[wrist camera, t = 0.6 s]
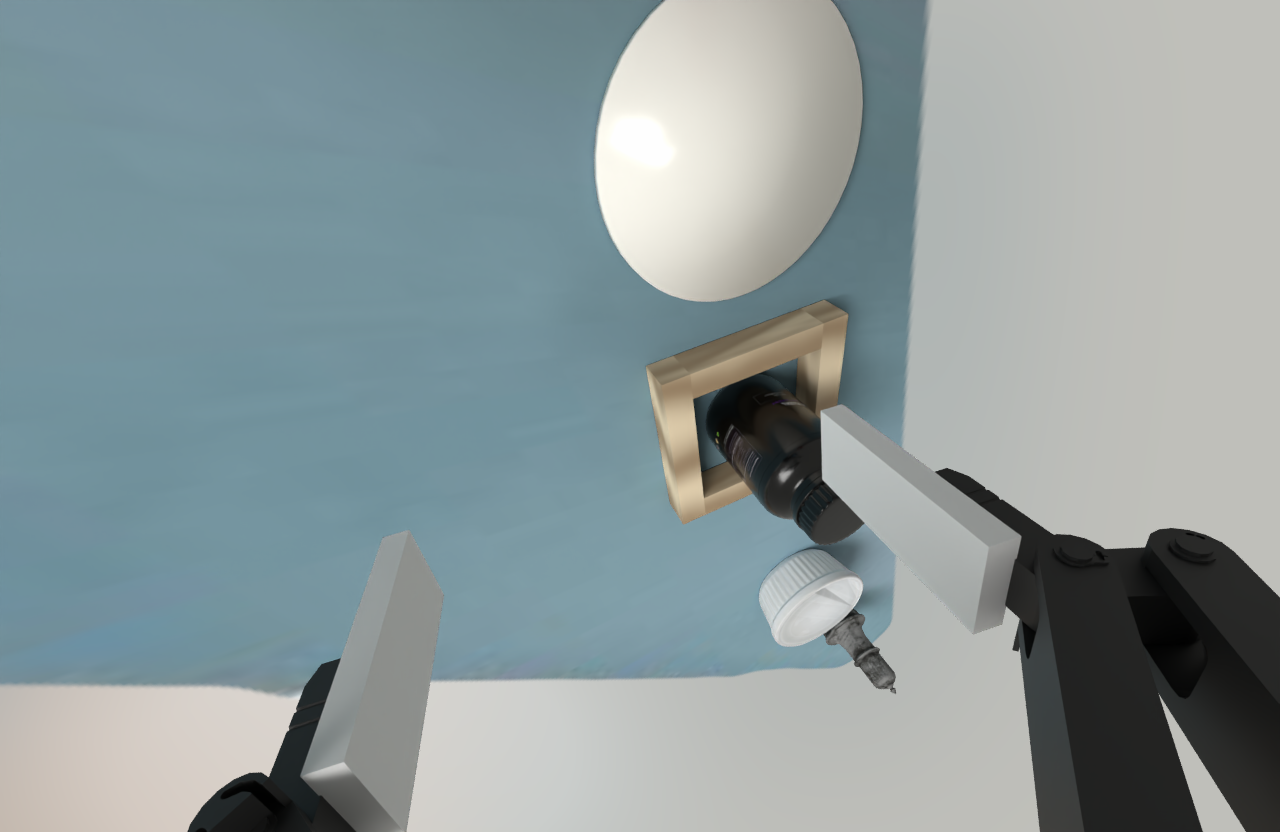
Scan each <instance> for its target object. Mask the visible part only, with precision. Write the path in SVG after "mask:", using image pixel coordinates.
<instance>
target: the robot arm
mask: <svg viewBox="0 0 1280 832" xmlns="http://www.w3.org/2000/svg"><path fill="white" fill-rule="evenodd" d="M821 448H822V480H823V481H824V482H825V483H826V484H827V485H828V486H829V487H830V488H831V489H832V490H833V491H834V492H835V493H836V494H837V495H838V496H839V497H840V498H841V499H842V500H843V501H844V502H845V503H846V504H847V505H848V506H849V507H850V508H851V509H852V510H853V512H854V513H855V514H856V515H857V516H858V517H859V518H860V519H861V520H862V521H863V522H864V523H865V524H866V525H867V526H868V527H869V528H870V529H871V530H872V531H873V532H874V533H875V534H876V535H877V536H878V537H879V538H880V539H881V540H882V541H883V542H884V543H885V544H886V545H887V547H888V548H889V549H890V550H891V551H892V552H893V553H894V554H895V555H896V556H897V557H898V558H899V559H900V560H901V561H902V562H903V563H904V564H905V565H906V566H907V567H908V568H909V569H910V570H911V571H912V572H913V573H914V574H915V575H916V576H917V577H918V578H919V579H920V580H921V581H922V583H923V584H924V585H925V586H926V587H927V588H928V589H929V590H930V591H931V592H932V593H933V594H934V595H935V596H936V597H937V598H938V599H939V600H940V601H941V602H942V603H943V604H944V605H945V606H946V607H947V608H948V609H949V610H950V611H951V612H952V613H953V614H954V615H955V617H957V619H958V620H959V621H960V622H961V623H962V624H963V625H964V626H965V627H966V628H967V629H968V630H969V631H970V632H971V633H972V634H976V633H979V632H981V631H984V630H987V629H990V628H993V627H996V626H999V625H1002V622H1003V618H1004V614H1005V609H1006V606H1007V607H1008V608H1009V609H1010V610H1011V611H1012V612H1013V613H1014V614H1015V615H1017V616H1018V617H1019V618H1020V620H1019V624H1018V629H1017V633H1016V637H1015V641H1014V646H1013V650H1014V651H1019V647H1020V653H1021V662H1022V671H1023V680H1024V690H1025V699H1026V708H1027V716H1028V726H1029V735H1030V745H1031V754H1032V762H1033V771H1034V781H1035V790H1036V799H1037V808H1038V818H1039V827H1040V832H1203V831H1202V828H1201V825H1200V822H1199V819H1198V816H1197V812H1196V809H1195V806H1194V803H1193V800H1192V797H1191V794H1190V790H1189V787H1188V784H1187V781H1186V778H1185V775H1184V772H1183V769H1182V766H1181V762H1180V759H1179V756H1178V753H1177V750H1176V747H1175V744H1174V741H1173V738H1172V734H1171V731H1170V729H1169V725H1168V722H1167V719H1166V716H1165V713H1164V710H1163V707H1162V703H1161V701H1160V697H1159V695H1160V696H1161V698H1162V699H1163V701H1164V703H1165V704H1166V706H1167V707H1168V709H1169V710H1170V712H1171V714H1172V715H1173V717H1174V718H1175V720H1176V722H1177V723H1178V725H1179V726H1180V728H1181V729H1182V731H1183V733H1184V734H1185V736H1186V737H1187V739H1188V741H1189V742H1190V744H1191V745H1192V747H1193V749H1194V750H1195V752H1196V753H1197V754H1198V756H1199V758H1200V759H1201V761H1202V763H1203V764H1204V766H1205V767H1206V769H1207V770H1208V772H1209V774H1210V775H1211V777H1212V779H1213V780H1214V782H1215V783H1216V785H1217V786H1218V788H1219V790H1220V791H1221V793H1222V794H1223V796H1224V797H1225V799H1226V801H1227V802H1228V804H1229V805H1230V807H1231V809H1232V810H1233V812H1234V813H1235V815H1236V817H1237V818H1238V820H1239V821H1240V823H1241V824H1242V826H1243V828H1244V829H1245V831H1246V832H1280V597H1279V596H1278V595H1277V594H1276V593H1275V592H1273V590H1272V589H1271V588H1270V587H1269V586H1268V585H1267V584H1266V583H1265V582H1264V581H1263V580H1262V579H1261V578H1260V577H1259V576H1258V575H1257V574H1256V573H1255V572H1254V571H1253V570H1252V569H1251V568H1250V567H1249V566H1248V565H1247V564H1246V563H1245V562H1244V561H1243V560H1242V559H1241V558H1240V557H1239V556H1238V555H1237V554H1236V553H1235V552H1234V551H1232V550H1231V549H1230V548H1229V547H1227V546H1226V545H1224V544H1223V543H1222V542H1219V541H1218V540H1215V539H1213V538H1211V537H1209V536H1207V535H1204V534H1201V533H1197V532H1194V531H1190V530H1184V529H1174V528H1169V529H1159V530H1157V531H1155V532H1153V533H1151V534H1150V536H1149V539H1148V541H1147V544H1146V547H1145V548H1125V549H1104V548H1103V547H1101V546H1100V545H1098V544H1096V543H1094V542H1092V541H1090V540H1087V539H1085V538H1081V537H1077V536H1073V535H1061V534H1056V535H1053V534H1052V533H1050V532H1049V531H1047V530H1045V529H1044V528H1043V527H1041V526H1040V525H1039V524H1037V523H1036V522H1034V521H1033V520H1031V519H1030V518H1028V517H1027V516H1025V515H1024V514H1023V513H1021V512H1020V511H1018V510H1017V509H1015V508H1014V507H1012V506H1011V505H1010V504H1008V503H1007V502H1005V501H1004V500H1000V499H999V497H998V496H997V495H995V494H994V493H992V492H991V491H989V490H986V489H985V487H984V486H982V485H981V484H979V483H978V482H976V481H975V480H973V479H972V478H971V477H969V476H967V475H964V474H962V473H959V472H956V471H954V470H951V469H948V468H946V469H943V470H939V471H936V472H934V471H932V470H931V469H930V468H928V467H927V466H925V465H924V464H923V463H921V462H920V461H919V460H917V459H916V458H915V457H913V456H912V455H911V454H909V453H908V452H907V451H905V450H904V449H903V448H901V447H900V446H898V445H897V444H896V443H894V442H893V441H892V440H890V439H889V438H888V437H886V436H885V435H884V434H882V433H881V432H880V431H878V430H877V429H875V428H874V427H873V426H871V425H870V424H869V423H867V422H866V421H865V420H863V419H862V418H861V417H859V416H858V415H856V414H855V413H854V412H852V411H851V410H850V409H848V408H847V407H846V406H844V405H843V404H841V405H838V406H834V407H831V408H828V409H824V410H821ZM443 598H444V594H443V592H442V590H441V588H440V587H439V585H438V583H437V581H436V579H435V577H434V575H433V573H432V572H431V570H430V568H429V566H428V564H427V562H426V560H425V559H424V557H423V555H422V553H421V551H420V549H419V547H418V546H417V544H416V542H415V540H414V538H413V536H412V534H411V532H410V531H409V530H407V531H404V532H400V533H397V534H393V535H390V536H387V537H383V539H382V541H381V544H380V547H379V550H378V553H377V556H376V559H375V562H374V564H373V567H372V570H371V573H370V576H369V579H368V582H367V585H366V588H365V590H364V593H363V596H362V599H361V602H360V605H359V608H358V611H357V614H356V616H355V619H354V622H353V625H352V628H351V631H350V634H349V637H348V640H347V642H346V645H345V648H344V651H343V654H342V657H341V658H340V659H337V660H334V661H331V662H327V663H324V664H321V666H320V667H319V668H318V670H317V671H316V672H315V674H314V675H313V676H312V678H311V679H310V680H309V682H308V683H307V684H306V686H305V687H304V690H303V692H302V695H301V697H300V700H299V703H298V705H297V708H296V710H297V712H296V713H294V715H293V718H292V720H291V723H290V725H289V731H288V732H287V733H286V735H285V738H284V740H283V743H282V746H281V748H280V750H279V753H278V756H277V758H276V761H275V763H274V766H273V768H272V771H271V773H270V776H269V777H267V776H266V775H264V774H263V773H248V774H246V775H244V776H241V777H239V778H236V779H234V780H233V781H231V782H230V783H228V784H227V785H226V786H224V787H223V788H221V789H220V790H219V791H217V792H216V793H215V795H213V796H212V797H211V799H209V801H207V802H206V803H205V805H203V807H202V808H201V810H200V811H199V812H198V814H197V815H196V817H195V818H194V820H193V821H192V822H191V824H190V826H189V830H188V832H406V830H407V824H408V818H409V811H410V805H411V799H412V792H413V786H414V780H415V774H416V768H417V761H418V755H419V749H420V742H421V736H422V730H423V724H424V717H425V711H426V705H427V699H428V692H429V686H430V680H431V673H432V667H433V661H434V655H435V648H436V642H437V636H438V630H439V623H440V617H441V611H442V604H443ZM1158 693H1159V694H1158Z"/></svg>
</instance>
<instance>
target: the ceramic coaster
mask: <svg viewBox="0 0 1280 832" xmlns="http://www.w3.org/2000/svg"><path fill="white" fill-rule="evenodd" d="M862 109H863V95H862V79H861V72H860V64H859V60H858V56H857V52H856V48H855V44H854V42H853V39H852V37H851V34H850V32H849V29H848V27H847V24H846V22H845V21H844V19H843V17H842V16H841V14H840V12H839V10H838V9H837V7H836V6H835V5H834V3H833V2H832V1H831V0H663V1H662V2H661V3H660V4H658V5H657V6H656V7H655V8H654V9H653V10H652V11H651V12H650V13H649V14H648V16H647V17H646V18H645V19H644V21H643V22H642V23H641V25H640V26H639V27H638V28H637V30H636V31H635V32H634V33H633V35H632V37H631V38H630V40H629V42H628V43H627V45H626V47H625V48H624V50H623V52H622V53H621V55H620V57H619V59H618V61H617V63H616V66H615V68H614V70H613V72H612V74H611V77H610V79H609V81H608V85H607V88H606V91H605V94H604V97H603V100H602V103H601V107H600V112H599V117H598V122H597V127H596V135H595V146H594V178H595V185H596V193H597V199H598V203H599V207H600V211H601V214H602V218H603V221H604V223H605V226H606V228H607V231H608V233H609V235H610V237H611V239H612V241H613V243H614V244H615V246H616V248H617V250H618V251H619V253H620V254H621V255H622V257H623V258H624V259H625V261H626V262H627V263H628V264H629V266H630V267H631V268H632V269H634V270H635V271H636V272H637V273H638V274H639V275H640V276H641V277H642V278H643V279H644V280H645V281H647V282H648V283H650V284H651V285H653V286H654V287H655V288H657V289H659V290H661V291H663V292H665V293H667V294H669V295H671V296H674V297H678V298H681V299H684V300H691V301H698V302H714V301H720V300H727V299H731V298H734V297H738V296H741V295H744V294H746V293H749V292H751V291H754V290H756V289H758V288H760V287H761V286H763V285H765V284H767V283H768V282H770V281H772V280H773V279H774V278H776V277H777V276H779V275H780V274H781V273H783V272H784V271H785V270H786V269H788V268H789V267H790V266H791V265H792V264H793V263H794V262H796V261H797V260H798V259H799V258H800V256H801V255H802V254H803V253H804V252H805V251H806V250H807V249H808V248H809V247H810V245H811V244H812V243H813V242H814V240H815V239H816V238H817V237H818V235H819V234H820V233H821V231H822V230H823V228H824V226H825V225H826V223H827V222H828V220H829V219H830V217H831V215H832V213H833V212H834V210H835V208H836V206H837V204H838V202H839V200H840V198H841V196H842V193H843V191H844V189H845V187H846V184H847V182H848V179H849V176H850V173H851V170H852V167H853V164H854V160H855V156H856V152H857V148H858V143H859V137H860V131H861V124H862Z"/></svg>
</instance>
